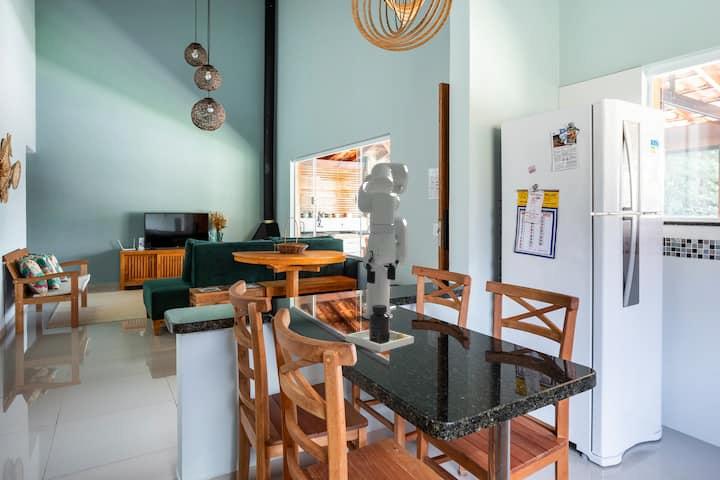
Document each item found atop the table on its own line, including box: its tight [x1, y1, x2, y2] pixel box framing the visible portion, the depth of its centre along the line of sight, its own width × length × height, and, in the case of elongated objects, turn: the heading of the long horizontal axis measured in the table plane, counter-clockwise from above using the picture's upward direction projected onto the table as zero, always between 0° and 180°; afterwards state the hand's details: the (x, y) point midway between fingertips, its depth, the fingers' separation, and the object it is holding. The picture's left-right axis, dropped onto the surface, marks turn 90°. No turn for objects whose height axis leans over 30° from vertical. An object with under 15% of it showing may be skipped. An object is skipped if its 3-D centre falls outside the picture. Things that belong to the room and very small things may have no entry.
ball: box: [397, 332, 406, 340], centre depth 150 cm, size 3×3×3 cm
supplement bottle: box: [368, 305, 391, 344], centre depth 150 cm, size 7×7×12 cm
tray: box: [345, 329, 415, 353], centre depth 150 cm, size 16×16×3 cm
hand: (381, 281), depth 150 cm, fingers open, 9 cm apart
